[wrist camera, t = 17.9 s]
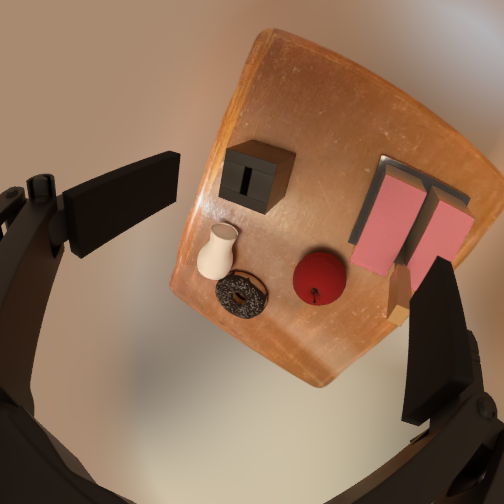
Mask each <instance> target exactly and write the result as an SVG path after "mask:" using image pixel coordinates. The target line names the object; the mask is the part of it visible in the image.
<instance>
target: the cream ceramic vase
mask: <svg viewBox="0 0 504 504" xmlns="http://www.w3.org/2000/svg"><path fill="white" fill-rule="evenodd" d="M237 237H238V232H237V230H236V229H235V228H234V227H233V226H231V225H229V224H226V223H215V224H213V226H212V228H211V235H210V239H209V241H208V243H206V244H205V245H204V246H203V247H202V249H201V250H200V252H199V255H198V258H197V267H198V270H199V272H200V273H201V274H202V275H203V276H204V277H206V278H208V279H212V280H219V279H222V278H224V277H225V276H226V275H227V274H228V272H229V271H230V269H231V267H232V263H233V254H232V245H233V244H234V242H235V240H236V239H237Z"/></svg>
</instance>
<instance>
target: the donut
mask: <svg viewBox="0 0 504 504" xmlns="http://www.w3.org/2000/svg"><path fill="white" fill-rule="evenodd" d="M215 292H216V296H217V298H218V301H219V302H220V304H221V305H222V306H223V307H224V308H225V310H227V311H228V312H229V313H231V314H233V315H235V316H238V317H240V318H244V319H250V318H253V317H255V316H257V315H259V314H260V313H261V312H262V311H263V310H264V308H265V307H266V304H267V296H268V293H266V290H265V288H264V286H263V285H262V284H261V282H259V281H258V280H257V279H256V278H254V277H253V276H251V275H249V274H246V273H243V272H236V271H233V272H230V273H228V274H227V275H226V276H225V277H224V278H222V279H219V281H218V283H217V285H216V291H215ZM236 293H240V294H241V295H243V296H244V297H245V298H246V301H245V300H242V299H240V298H239V297H238V296H237V295H236Z"/></svg>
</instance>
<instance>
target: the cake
mask: <svg viewBox="0 0 504 504" xmlns="http://www.w3.org/2000/svg"><path fill="white" fill-rule="evenodd" d="M469 201H470V197H469V196H467V195H466V194H464V193H462V192H460V191H458V190H457V189H455V188H453V187H451V186H449V185H447V184H445V183H443V182H441V181H440V180H438V179H436V178H434V177H432V176H430V175H428V174H426V173H424V172H421V171H419V170H417V169H415V168H413V167H411V166H409V165H407V164H404V163H402V162H400V161H398V160H395V159H393V158H391V157H389V156H386V155H384V154H382V155H381V158H380V161H379V164H378V167H377V169H376V172H375V175H374V178H373V180H372V183H371V186H370V188H369V191H368V194H367V196H366V199H365V201H364V204H363V206H362V209H361V211H360V214H359V216H358V219H357V221H356V224H355V226H354V229H353V231H352V233H351V236H350V238H349V241H348V242H349V243H351V244H354V247H353V251H352V254H351V258H350V261H349V262H351V263H353V264H356V265H358V266H360V267H363V268H365V269H367V270H369V271H372V272H374V273H376V274H378V275H381V276H383V277H386V275H387V274H388V272H389V270H390V268H391V266H392V264H393V263H395V259H396V257H397V255H398V253H399V251H400V249H401V247H402V245H403V243H404V241H405V255H406V268H408V269H410V274H411V289H412V290H414V291H416V290H417V288H418V287H419V285H420V284H421V282H422V280H423V279H424V277H425V276H426V274H427V272H428V271H429V269H430V267H431V266H432V264H433V262H434V260H435V259H436V257H437V255H438V256H440V257H442V258H444V259H446V260H448V261H450V262H452V261H453V259H454V257H455V256H456V254H457V252H458V250H459V249H460V247H461V245H462V243H463V241H464V240H465V238H466V236H467V234H468V232H469V230H470V228H471V226H472V224H473V222H474V220H475V218H474V217H473V215H472V214H471V212H470V211H469V209H468V208H467V205H468V203H469Z"/></svg>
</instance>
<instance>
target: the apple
mask: <svg viewBox="0 0 504 504" xmlns="http://www.w3.org/2000/svg"><path fill="white" fill-rule="evenodd" d="M293 286H294V290H295V292H296V294H297V295H298V296H299V298H300V299H302V300H303V301H304V302H306V303H308V304H311V305H318V306H320V305H326V304H329V303H332V302H334V301H335V300H337V299H338V298H339V297H340V296H341V294H342V293H343V291H344V289H345V286H346V272H345V270H344V267H343V266H342V264H341V263H340V262H339V260H338V259H337V258H335V257H334V256H332V255H330V254H328V253H322V252H317V253H312V254H310V255H308V256H306V257H305V258H303V259H302V260H301V261H300V262H299V263H298V265H297V266H296V268H295V271H294V274H293Z"/></svg>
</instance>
